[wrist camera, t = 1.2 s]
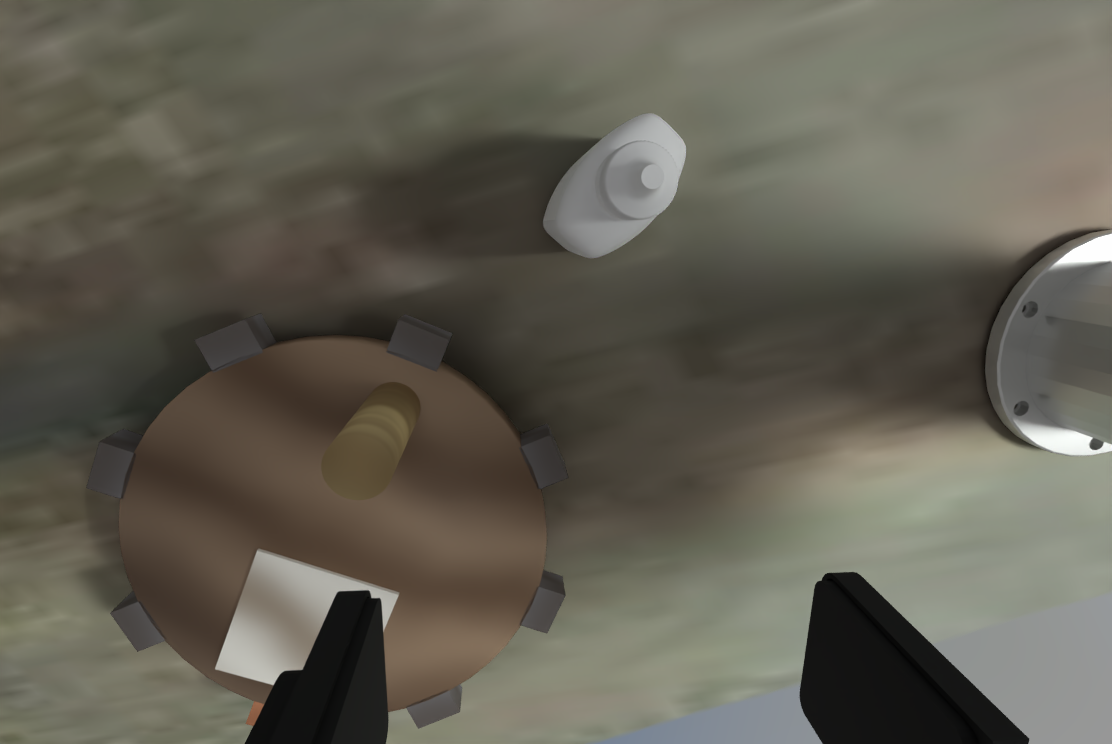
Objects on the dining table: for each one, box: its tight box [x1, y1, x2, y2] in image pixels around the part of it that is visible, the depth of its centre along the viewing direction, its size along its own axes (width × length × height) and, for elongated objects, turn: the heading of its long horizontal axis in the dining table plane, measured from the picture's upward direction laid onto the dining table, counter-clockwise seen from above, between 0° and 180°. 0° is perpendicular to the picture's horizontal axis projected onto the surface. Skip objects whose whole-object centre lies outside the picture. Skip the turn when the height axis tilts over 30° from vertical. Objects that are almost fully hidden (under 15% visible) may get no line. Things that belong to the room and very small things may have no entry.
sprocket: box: [86, 314, 568, 729], centre depth 26 cm, size 23×23×9 cm
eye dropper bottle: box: [543, 113, 686, 258], centre depth 23 cm, size 4×6×12 cm
